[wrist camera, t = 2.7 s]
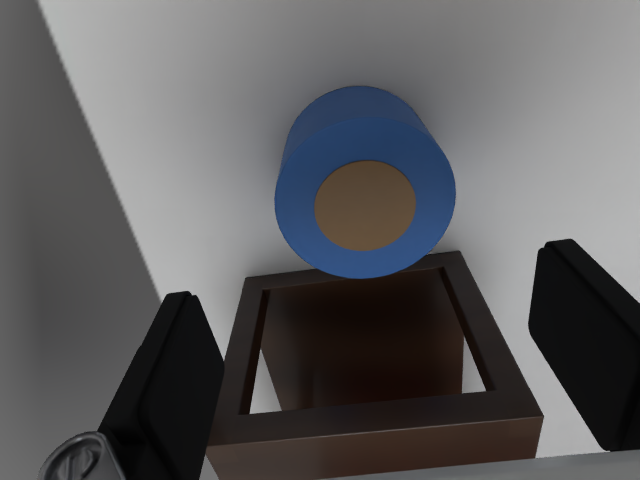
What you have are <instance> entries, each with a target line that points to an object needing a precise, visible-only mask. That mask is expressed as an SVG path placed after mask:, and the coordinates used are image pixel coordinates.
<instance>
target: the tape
mask: <svg viewBox="0 0 640 480" xmlns="http://www.w3.org/2000/svg"><path fill="white" fill-rule="evenodd" d="M455 198H456V188H455V180H454V175H453V171H452V169H451V166H450V164H449V161H448V160H447V158H446V156H445V154H444V153H443V151H442V150H441V148H440V147H439V146H438V144H437V143H436V141H435V140H434V138H433V137H432V136H431V134H430V133H429V131H428V130H427V128H426V127H425V126H424V124H423V123H422V121H421V120H420V119H419V117H418V116H417V114H416V113H415V112H414V111H413V109H412V108H411V107H410V106H409V105H408V104H407V103H405V102H404V101H403V100H402V99H400V98H399V97H397V96H395V95H393V94H391V93H389V92H387V91H384V90H381V89H378V88H373V87H367V86H353V87H345V88H341V89H337V90H334V91H332V92H329V93H327V94H325V95H323V96H321V97H319V98H318V99H316V100H315V101H314V102H312V103H311V104H310V105H309V106H308V107H306V108H305V109H304V110H303V111H302V113H301V114H300V115H299V116H298V118H297V119H296V121H295V122H294V124H293V126H292V127H291V130H290V132H289V134H288V137H287V141H286V145H285V149H284V153H283V158H282V162H281V167H280V171H279V176H278V180H277V185H276V190H275V213H276V219H277V222H278V225H279V228H280V230H281V232H282V234H283V236H284V238H285V240H286V241H287V243H288V244H289V246H290V247H291V248H292V249H293V250H294V251H295V253H296V254H297V255H298V256H300V257H301V258H302V259H303V260H304V261H306V262H307V263H309V264H310V265H312V266H313V267H315V268H317V269H319V270H321V271H324V272H326V273H329V274H332V275H336V276H340V277H346V278H356V279H365V278H375V277H381V276H385V275H389V274H392V273H395V272H398V271H400V270H403V269H405V268H407V267H408V266H410V265H412V264H414V263H415V262H417V261H418V260H420V259H421V258H422V257H424V256H425V255H426V254H427V253H428V252H430V250H431V249H432V248H433V247H434V246H435V245H436V244H437V243H438V241H439V240H440V239H441V237H442V236H443V234H444V233H445V231H446V229H447V227H448V225H449V223H450V220H451V218H452V215H453V211H454V206H455Z"/></svg>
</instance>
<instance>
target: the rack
mask: <svg viewBox="0 0 640 480" xmlns="http://www.w3.org/2000/svg"><path fill="white" fill-rule="evenodd" d="M464 336H465V339H466V341H467V344H468V346H469V349H470V351H471V354H472V356H473V359H474V361H475V364H476V366H477V369H478V371H479V374H480V376H481V379H482V381H483V384H484V386H485V389H486V391H484V392H474V393H463V394H462V374H463V346H464ZM260 347H261V350H262V353H263V356H264V359H265V362H266V365H267V368H268V371H269V374H270V377H271V380H272V383H273V385H274V388H275V391H276V394H277V397H278V400H279V403H280V406H281V409H282V411H277V412H266V413H256V414H249V413H250V407H251V401H252V395H253V389H254V383H255V377H256V371H257V365H258V359H259V353H260ZM224 365H225V372H224V377H223V381H222V386H221V390H220V394H219V398H218V402H217V407H216V411H215V415H214V419H213V423H212V427H211V432H210V436H209V440H208V444H207V448H206V453H205V454H206V456H207V458H208V460H209V461H210V463H211V465H212V467H213V469H214V471H215V472H216V474H217V476H218V478H219V480H318V479H328V478H337V477H347V476H358V475H368V474H378V473H388V472H398V471H408V470H418V469H428V468H438V467H449V466H459V465H469V464H480V463H491V462H501V461H512V460H523V459H534V458H535V456H536V452H537V447H538V442H539V437H540V433H541V428H542V423H543V418H544V415H543V413H542V411H541V409H540V407H539V405H538V403H537V402H536V400H535V398H534V396H533V394H532V392H531V390H530V388H529V387H528V385H527V383H526V381H525V379H524V377H523V375H522V373H521V371H520V369H519V367H518V365H517V363H516V361H515V359H514V357H513V355H512V353H511V351H510V349H509V347H508V345H507V343H506V341H505V339H504V337H503V335H502V333H501V331H500V329H499V327H498V326H497V324H496V322H495V320H494V318H493V316H492V314H491V312H490V310H489V308H488V306H487V304H486V302H485V300H484V298H483V296H482V294H481V292H480V290H479V288H478V286H477V284H476V282H475V280H474V278H473V276H472V274H471V272H470V270H469V268H468V266H467V264H466V262H465V260H464V258H463V256H462V254H461V252H460V251H457V252H449V253H441V254H433V255H425V256H424V257H422V258H421V259H420V260H418V261H417V262H415V263H414V264H412V265H410V266H408V267H407V268H405V269H403V270H400V271H398V272H395V273H392V274H389V275H385V276H381V277H375V278H365V279H356V278H346V277H340V276H336V275H332V274H329V273H326V272H324V271H321V270H319V269H315V270H307V271H299V272H291V273H283V274H275V275H267V276H260V277H252V278H245V281H244V285H243V289H242V294H241V298H240V301H239V305H238V309H237V313H236V317H235V321H234V325H233V329H232V332H231V336H230V340H229V344H228V348H227V352H226V356H225V360H224Z"/></svg>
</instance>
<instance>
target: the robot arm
mask: <svg viewBox="0 0 640 480" xmlns="http://www.w3.org/2000/svg"><path fill="white" fill-rule="evenodd" d="M528 327H529V332H530V335H531V337H532V338H533V340H534V342H535V343H536V345H537V346H538V348H539V350H540V351H541V353H542V354H543V356H544V358H545V359H546V361H547V362H548V364H549V366H550V367H551V369H552V370H553V372H554V374H555V375H556V377H557V378H558V380H559V382H560V383H561V385H562V386H563V388H564V389H565V391H566V393H567V394H568V396H569V397H570V399H571V401H572V402H573V404H574V405H575V407H576V409H577V410H578V412H579V413H580V415H581V417H582V418H583V420H584V421H585V423H586V425H587V426H588V428H589V429H590V431H591V433H592V434H593V436H594V437H595V439H596V441H597V442H598V444H599V445H600V447H601V448H602V449H603V450H605V451H610V452H604V453H591V454H577V455H566V456H555V457H544V458H534V459H523V460H512V461H501V462H491V463H480V464H469V465H459V466H449V467H438V468H428V469H418V470H408V471H398V472H388V473H378V474H368V475H358V476H347V477H337V478H328V479H318V480H640V303H639V302H638V301H636V300H635V299H634V298H633V297H632V296H631V295H630V294H629V293H628V292H627V291H626V290H625V289H624V288H623V287H622V286H621V285H620V284H619V283H618V282H617V281H616V280H615V279H614V278H613V277H612V276H611V275H609V274H608V273H607V272H606V271H605V270H604V269H603V268H602V267H601V266H600V265H599V264H598V263H597V262H596V261H595V260H594V259H593V258H592V257H591V256H590V255H589V254H588V253H587V252H586V251H585V250H583V249H582V248H581V247H580V246H579V245H578V244H577V243H576V242H575V241H574V240H572V239H564V240H557V241H549V242H547V243H546V244H545V246H544V248H540V249H539V251H538V255H537V263H536V270H535V277H534V285H533V292H532V299H531V307H530V314H529V321H528ZM224 372H225V365H224V361H223V358H222V356H221V353H220V351H219V348H218V346H217V343H216V341H215V338H214V336H213V333H212V331H211V328H210V326H209V323H208V321H207V318H206V316H205V313H204V311H203V308H202V306H201V303H200V301H199V298H198V297H197V296H196V295H192V294H191V293H190V292H189V291H183V292H176V293H169V294H167V295H166V296H165V298H164V300H163V302H162V304H161V306H160V308H159V311H158V312H157V315H156V317H155V319H154V321H153V323H152V325H151V327H150V329H149V331H148V333H147V335H146V337H145V339H144V341H143V343H142V345H141V346H140V347H139V349H138V350H137V352H136V354H135V356H134V358H133V360H132V362H131V364H130V366H129V368H128V370H127V372H126V374H125V376H124V378H123V380H122V382H121V384H120V386H119V388H118V390H117V392H116V394H115V396H114V398H113V400H112V402H111V404H110V406H109V408H108V410H107V412H106V414H105V416H104V418H103V420H102V422H101V424H100V426H99V428H98V430H97V431H93V432H85V433H81V434H78V435H76V436H74V437H72V438H70V439H68V440H67V441H65V442H64V443H63V444H61V445H60V446H59V447H57V448H56V449H55V450H54V451H53V452H52V453H51V455H49V457H48V458H47V459H46V461H45V462H44V464H43V465H42V467H41V468H40V471H39V474H38V476H37V480H199V477H200V474H201V469H202V465H203V461H204V457H205V453H206V448H207V444H208V440H209V436H210V432H211V427H212V423H213V419H214V415H215V411H216V407H217V402H218V398H219V394H220V390H221V386H222V381H223V377H224Z"/></svg>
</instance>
